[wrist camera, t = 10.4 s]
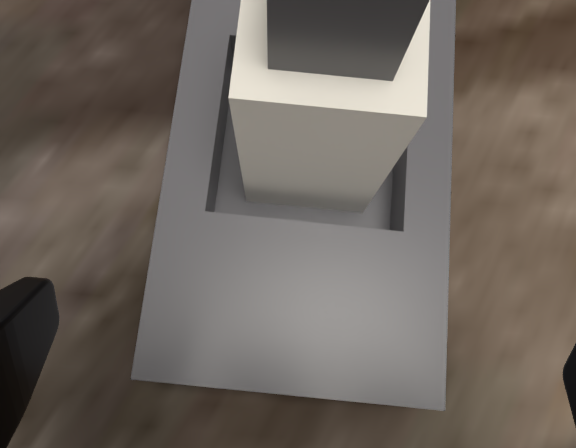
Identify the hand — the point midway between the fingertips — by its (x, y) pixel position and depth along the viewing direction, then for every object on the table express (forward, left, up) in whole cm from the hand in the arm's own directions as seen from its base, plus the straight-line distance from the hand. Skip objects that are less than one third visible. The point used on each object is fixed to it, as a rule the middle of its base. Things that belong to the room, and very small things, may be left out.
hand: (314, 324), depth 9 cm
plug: (+5, +6, -12) cm, 15 cm away
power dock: (+5, +6, -13) cm, 16 cm away
